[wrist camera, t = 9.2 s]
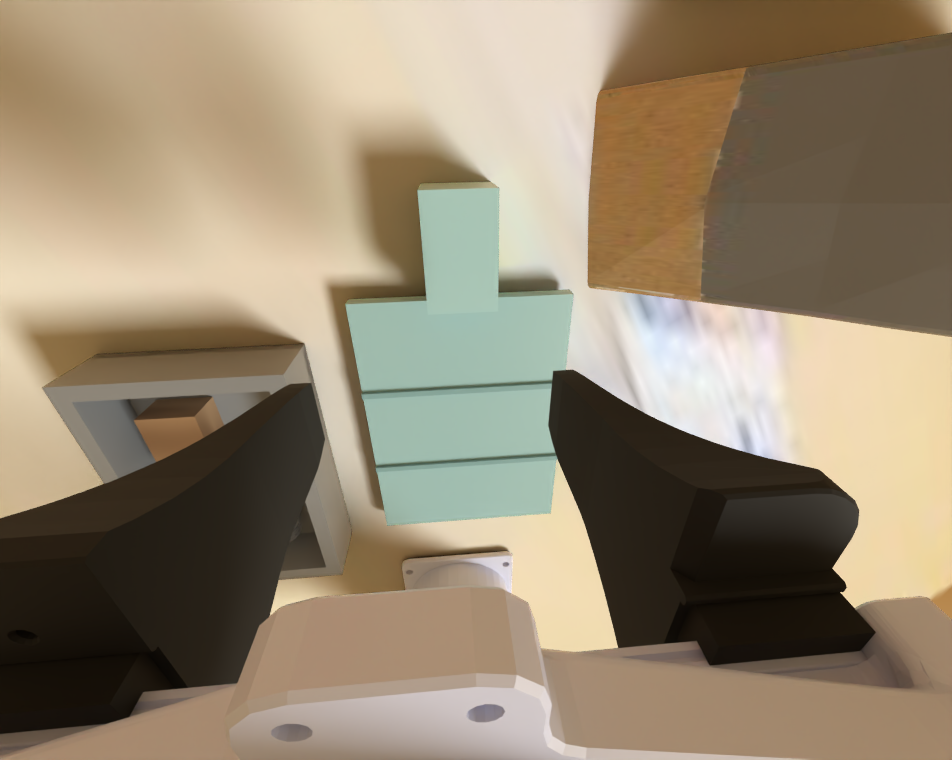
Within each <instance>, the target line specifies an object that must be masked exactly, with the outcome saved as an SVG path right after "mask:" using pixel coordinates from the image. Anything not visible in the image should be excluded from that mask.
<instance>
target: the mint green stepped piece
mask: <svg viewBox="0 0 952 760" xmlns="http://www.w3.org/2000/svg"><path fill="white" fill-rule="evenodd" d="M417 192H418V204H419V216H420V228H421V240H422V252H423V263H424V275H425V287H426V296H412V297H389V298H367V299H348V301H347V302H346V304H345V306H346V311H347V316H348V322H349V327H350V332H351V337H352V343H353V348H354V353H355V358H356V364H357V369H358V374H359V379H360V385H361V390H362V394H361V395H362V400H364V406H365V411H366V416H367V421H368V427H369V432H370V437H371V442H372V448H373V453H374V458H375V464H376V472H377V474H378V479H379V485H380V490H381V495H382V500H383V506H384V511H385V516H386V521H387V526H390V525H403V524H416V523H429V522H442V521H455V520H468V519H482V518H495V517H508V516H521V515H534V514H547V513H551V504H552V495H553V485H554V476H555V466H556V460H557V456H556V454H555V450H554V447H553V443H552V439H551V435H550V431H549V427H548V422H549V410H550V399H551V388H552V377H553V371H558V370H566V361H567V351H568V342H569V332H570V323H571V313H572V304H573V293H572V292H571V291H570V290H548V291H525V292H503V293H498V274H499V187H497V186H496V185H495V184H493V183H492V182H491V181H485V182H450V183H421V184H420V186H419V188H418V190H417Z"/></svg>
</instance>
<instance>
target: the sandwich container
mask: <svg viewBox="0 0 952 760" xmlns="http://www.w3.org/2000/svg"><path fill="white" fill-rule="evenodd" d="M588 286H589V287H590V288H594V289H603V290H611V291H619V292H627V293H635V294H643V295H651V296H659V297H667V298H674V299H682V300H690V301H697V302H705V303H713V304H720V305H728V306H735V307H743V308H751V309H758V310H766V311H773V312H781V313H788V314H796V315H804V316H811V317H818V318H825V319H831V320H838V321H845V322H851V323H858V324H864V325H871V326H878V327H884V328H891V329H898V330H905V331H912V332H920V333H927V334H934V335H941V336H949V337H952V33H947V34H941V35H935V36H929V37H923V38H917V39H911V40H905V41H899V42H893V43H887V44H881V45H875V46H869V47H863V48H857V49H851V50H845V51H839V52H833V53H827V54H821V55H815V56H809V57H803V58H797V59H791V60H785V61H779V62H773V63H767V64H761V65H755V66H749V67H743V68H737V69H731V70H725V71H718V72H712V73H706V74H700V75H694V76H688V77H682V78H676V79H669V80H663V81H657V82H651V83H645V84H639V85H633V86H627V87H620V88H614V89H608V90H602V91H600V92H599V94H598V97H597V102H596V115H595V128H594V140H593V153H592V165H591V178H590V191H589V217H588Z"/></svg>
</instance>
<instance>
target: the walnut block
mask: <svg viewBox="0 0 952 760" xmlns="http://www.w3.org/2000/svg"><path fill="white" fill-rule="evenodd" d="M134 422H135V424H136V426H137V427H138V429H139V431H140V433H141V435H142V437H143V439H144V440H145V442H146V444H147V446H148V448H149V450H150V452H151V453H152V455H153V457H154V459H155V461H156V462H157V461H160V460H162V459H164V458H166V457H168V456H170V455H172V454H174V453H176V452H178V451H180V450H182V449H184V448H186V447H188V446H190V445H191V444H193V443H195V442H197V441H199V440H201V439H202V438H204V437H206V436H207V435H209V434H211V433H212V432H214V431H216V430H217V429H219V428H221V427H222V426H224V424H223V421H222V419H221V416H220V414H219V411H218V409H217V406H216V404H215V402H214V399H213V397H200V398H182V399H164V400H156V401H155V402H153V403H152V404H151V405H150V406H149V407H148V408H147V409H146V410H145V411H143V412H142V413H141V414H140V415H139V416H138V417H137V418H136V419H134Z"/></svg>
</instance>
